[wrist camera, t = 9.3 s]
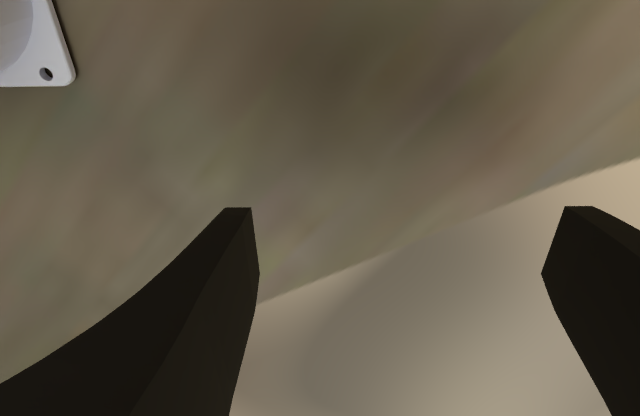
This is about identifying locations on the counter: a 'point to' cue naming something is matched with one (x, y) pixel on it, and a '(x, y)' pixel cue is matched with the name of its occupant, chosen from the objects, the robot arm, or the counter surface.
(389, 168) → the counter surface
